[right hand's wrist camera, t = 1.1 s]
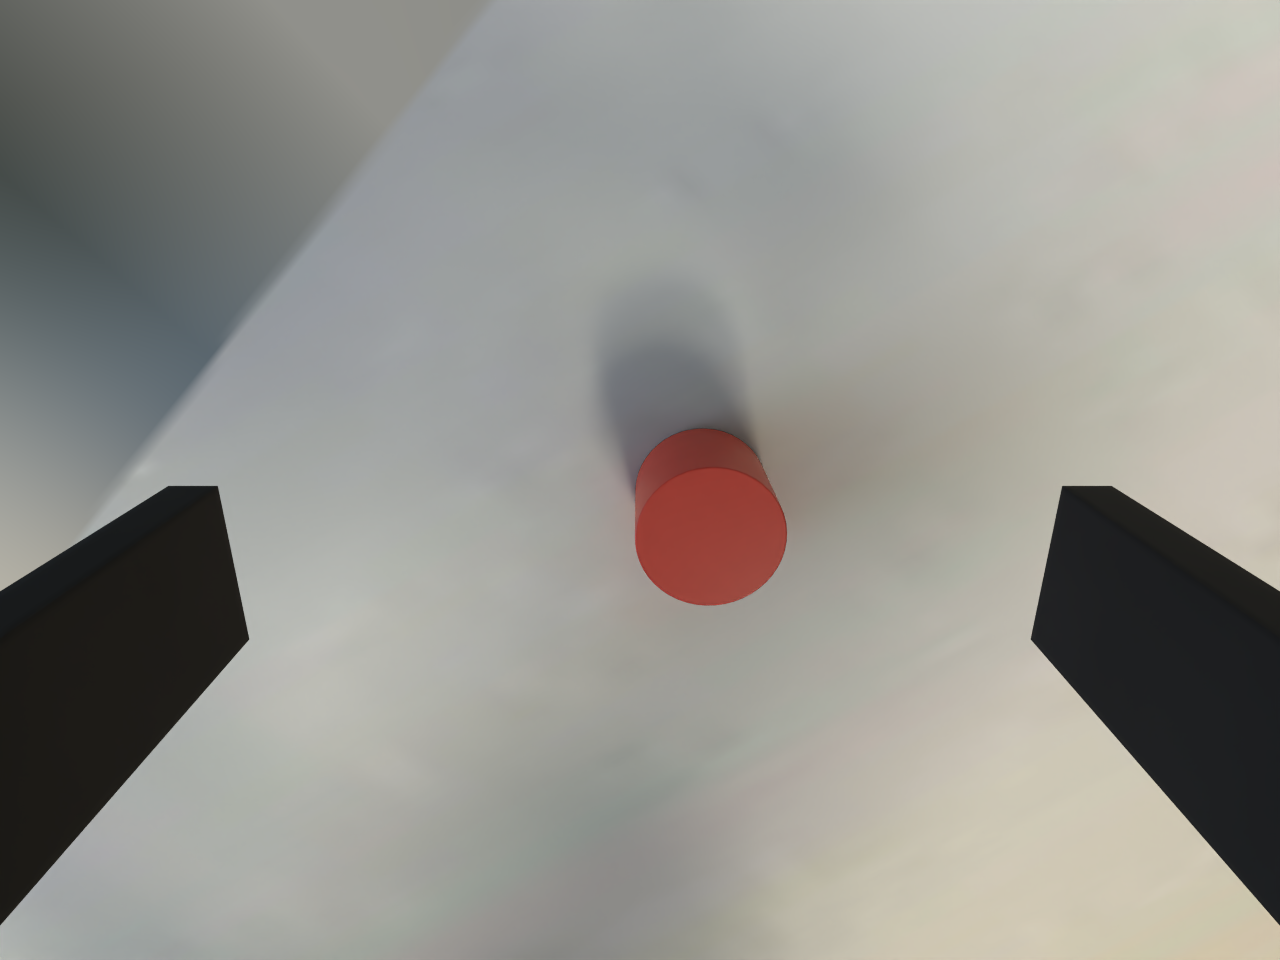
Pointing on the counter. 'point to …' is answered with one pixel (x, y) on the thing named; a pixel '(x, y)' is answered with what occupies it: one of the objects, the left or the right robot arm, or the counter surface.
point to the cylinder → (707, 518)
